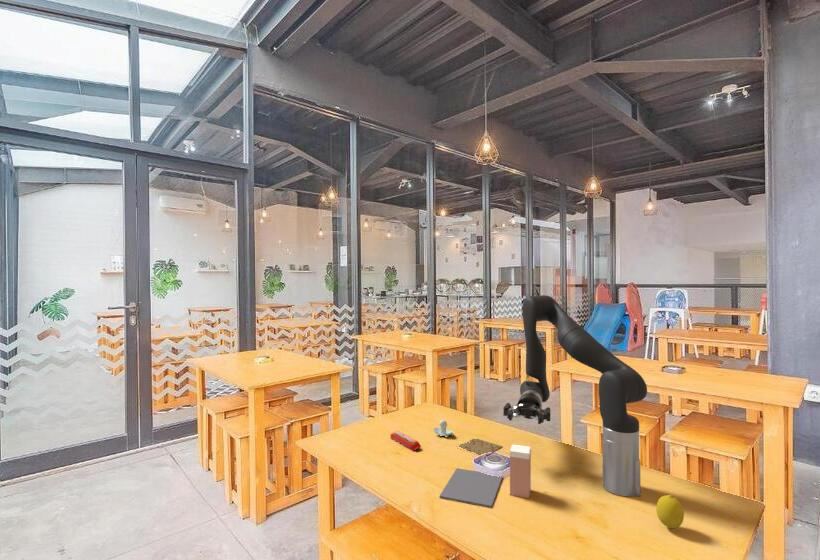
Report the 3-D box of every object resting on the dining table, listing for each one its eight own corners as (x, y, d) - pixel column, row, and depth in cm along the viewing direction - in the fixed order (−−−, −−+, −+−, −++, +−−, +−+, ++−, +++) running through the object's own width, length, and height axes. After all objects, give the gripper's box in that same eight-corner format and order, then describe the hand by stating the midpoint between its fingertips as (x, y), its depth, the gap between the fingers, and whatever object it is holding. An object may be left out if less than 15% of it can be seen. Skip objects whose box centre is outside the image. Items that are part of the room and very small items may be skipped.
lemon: (673, 521, 104) (673, 488, 104) (689, 535, 98) (689, 500, 98) (651, 522, 104) (651, 489, 104) (665, 536, 98) (665, 501, 98)
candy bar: (388, 438, 158) (388, 430, 158) (396, 436, 160) (396, 428, 160) (413, 453, 145) (413, 444, 145) (422, 450, 147) (422, 442, 147)
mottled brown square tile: (504, 447, 150) (504, 445, 150) (484, 458, 141) (484, 455, 141) (475, 439, 158) (475, 436, 158) (455, 448, 149) (455, 446, 149)
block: (530, 489, 120) (530, 446, 120) (528, 498, 115) (528, 453, 115) (512, 486, 122) (512, 444, 121) (509, 494, 117) (509, 450, 117)
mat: (502, 477, 127) (502, 475, 127) (491, 507, 110) (491, 505, 110) (456, 469, 132) (456, 468, 132) (439, 497, 115) (439, 495, 115)
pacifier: (438, 431, 165) (432, 436, 160) (438, 415, 166) (432, 419, 160) (456, 434, 162) (450, 439, 157) (456, 418, 162) (450, 422, 157)
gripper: (508, 390, 146) (500, 404, 131) (552, 394, 141) (549, 409, 126) (508, 412, 146) (500, 428, 131) (552, 417, 141) (549, 434, 126)
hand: (524, 419), depth 129 cm, fingers open, 8 cm apart
